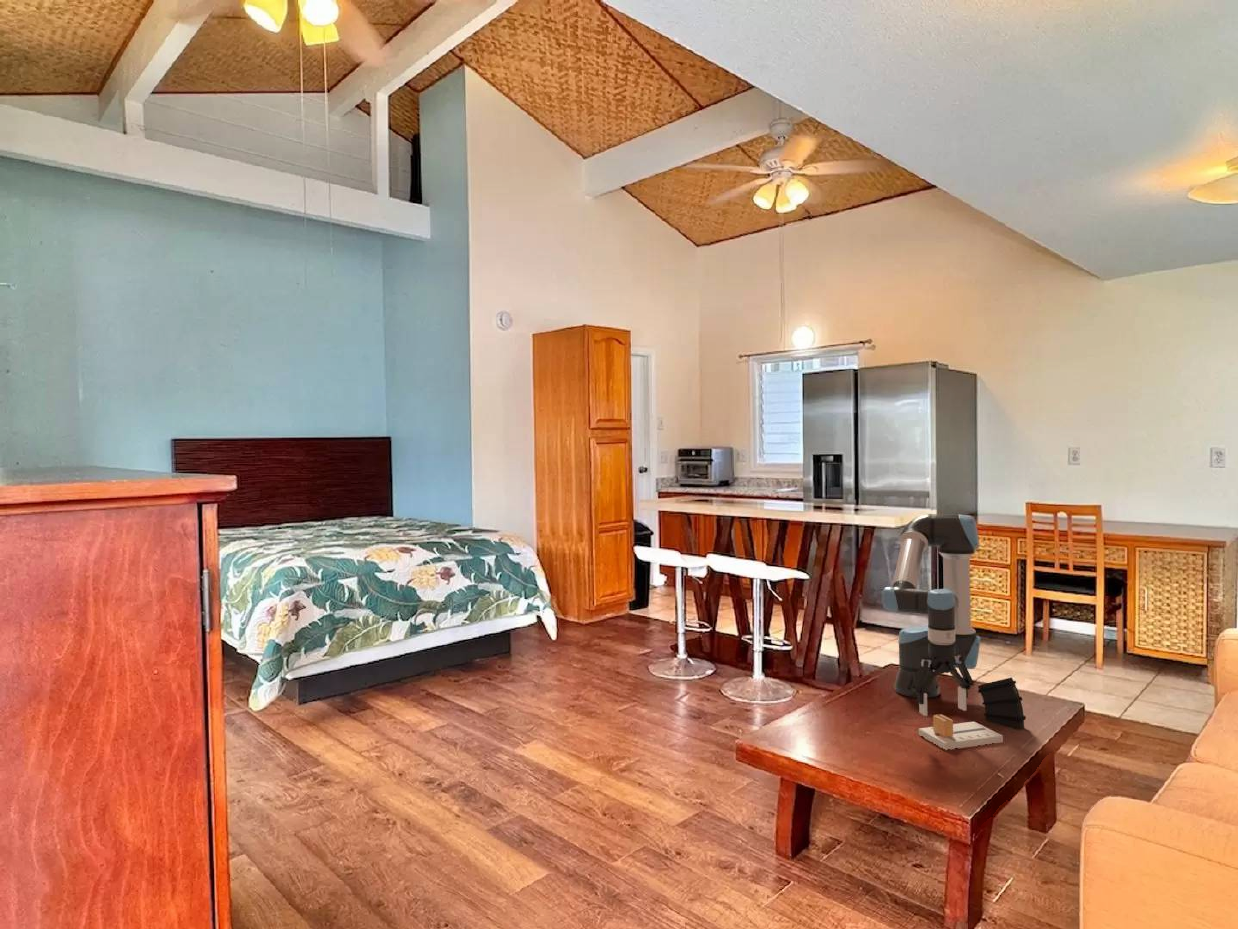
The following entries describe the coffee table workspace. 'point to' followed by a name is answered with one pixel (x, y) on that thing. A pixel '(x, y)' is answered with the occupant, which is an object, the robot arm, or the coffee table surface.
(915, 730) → the coffee table surface
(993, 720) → the magazine
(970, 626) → the robot arm
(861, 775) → the coffee table surface
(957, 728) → the fader console
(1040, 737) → the coffee table surface
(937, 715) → the fader tab
